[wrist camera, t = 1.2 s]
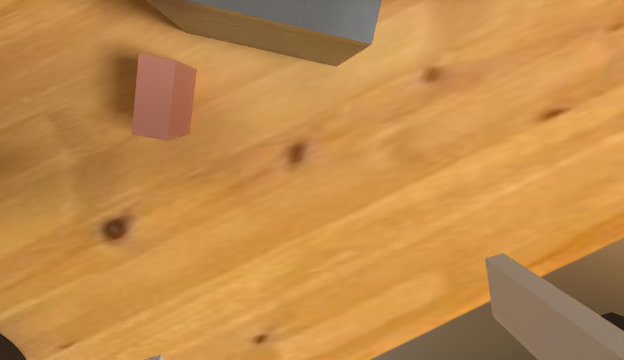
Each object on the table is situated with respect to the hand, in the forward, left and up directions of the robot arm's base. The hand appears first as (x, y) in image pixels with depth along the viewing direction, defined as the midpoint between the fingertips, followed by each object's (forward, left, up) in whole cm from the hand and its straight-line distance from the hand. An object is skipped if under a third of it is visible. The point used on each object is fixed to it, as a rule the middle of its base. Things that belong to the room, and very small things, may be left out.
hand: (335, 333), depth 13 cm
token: (-12, +7, -19) cm, 24 cm away
